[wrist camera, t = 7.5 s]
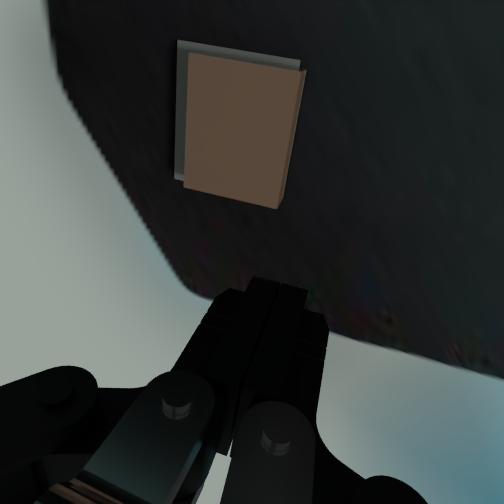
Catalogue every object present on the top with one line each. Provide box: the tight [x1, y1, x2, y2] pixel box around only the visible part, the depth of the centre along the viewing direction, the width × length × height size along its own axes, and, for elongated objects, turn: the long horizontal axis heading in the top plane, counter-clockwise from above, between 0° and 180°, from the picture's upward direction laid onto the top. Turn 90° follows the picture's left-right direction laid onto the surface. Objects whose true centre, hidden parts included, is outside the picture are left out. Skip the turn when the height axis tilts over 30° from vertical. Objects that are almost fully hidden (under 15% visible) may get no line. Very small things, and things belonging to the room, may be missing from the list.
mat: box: [174, 40, 300, 181], centre depth 30 cm, size 11×9×1 cm
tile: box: [184, 52, 306, 209], centre depth 29 cm, size 10×2×8 cm
